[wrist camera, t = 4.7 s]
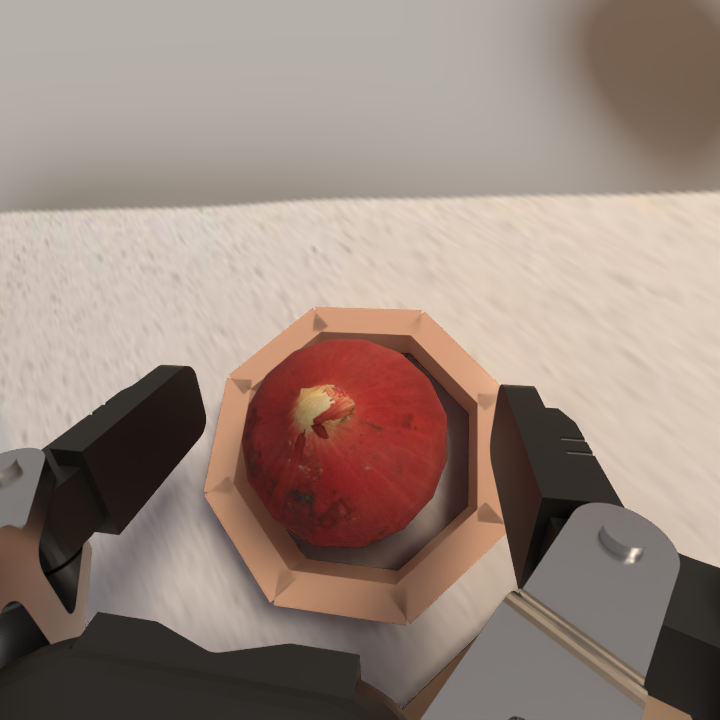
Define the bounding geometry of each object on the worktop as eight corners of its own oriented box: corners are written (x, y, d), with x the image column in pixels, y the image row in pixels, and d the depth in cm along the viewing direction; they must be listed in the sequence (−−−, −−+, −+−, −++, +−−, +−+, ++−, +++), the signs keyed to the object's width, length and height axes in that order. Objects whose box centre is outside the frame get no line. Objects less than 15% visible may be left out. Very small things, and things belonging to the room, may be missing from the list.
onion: (400, 561, 13) (384, 659, 6) (262, 487, 15) (108, 487, 7) (461, 411, 15) (513, 333, 7) (330, 355, 16) (258, 241, 9)
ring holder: (376, 285, 17) (372, 260, 15) (557, 465, 14) (580, 462, 12) (192, 434, 16) (162, 427, 14) (342, 668, 13) (329, 700, 11)
